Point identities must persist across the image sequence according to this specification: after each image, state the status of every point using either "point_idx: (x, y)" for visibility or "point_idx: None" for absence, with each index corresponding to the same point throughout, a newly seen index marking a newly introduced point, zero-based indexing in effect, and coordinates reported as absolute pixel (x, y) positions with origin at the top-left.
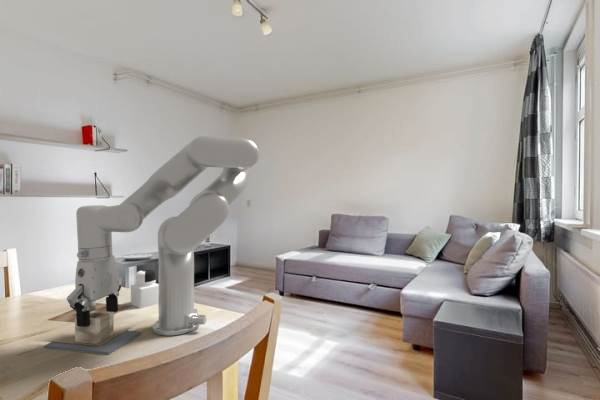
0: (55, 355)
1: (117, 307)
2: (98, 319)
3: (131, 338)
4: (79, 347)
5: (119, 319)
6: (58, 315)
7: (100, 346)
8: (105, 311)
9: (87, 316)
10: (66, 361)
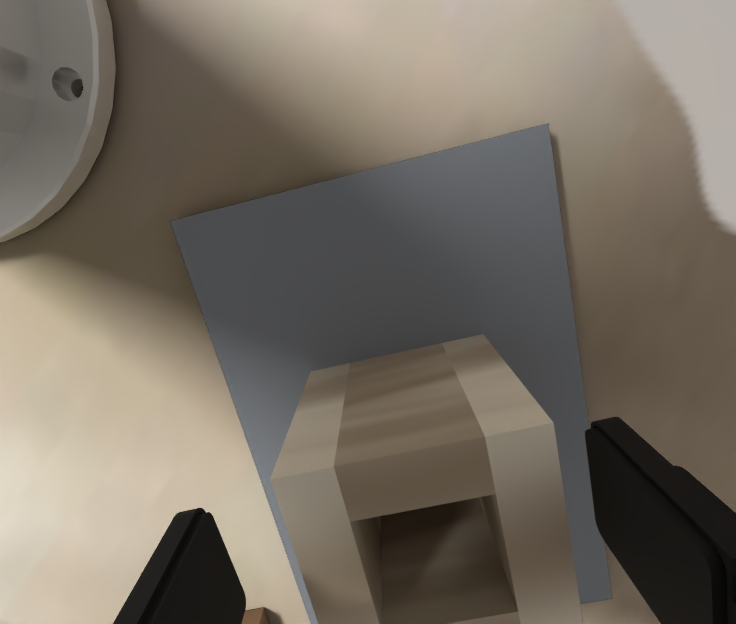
0: (655, 443)
1: (167, 542)
2: (511, 429)
3: (287, 191)
4: (560, 389)
5: (101, 577)
6: None
7: (498, 271)
8: (303, 568)
9: (696, 489)
10: (701, 306)
